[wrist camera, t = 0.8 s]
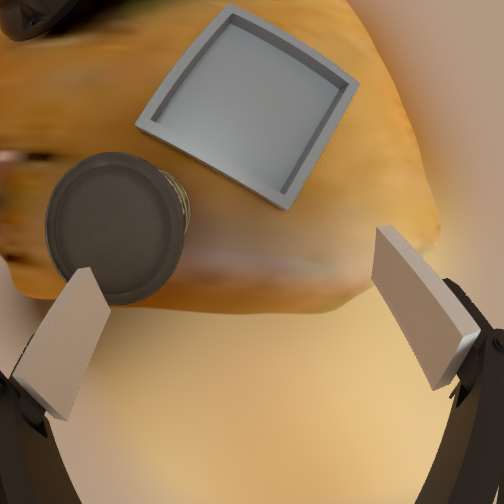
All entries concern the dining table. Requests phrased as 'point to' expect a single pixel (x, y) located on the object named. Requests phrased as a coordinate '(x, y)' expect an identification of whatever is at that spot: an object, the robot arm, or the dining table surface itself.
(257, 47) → the tray
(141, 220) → the coffee can
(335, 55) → the dining table surface
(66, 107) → the dining table surface
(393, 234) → the robot arm
